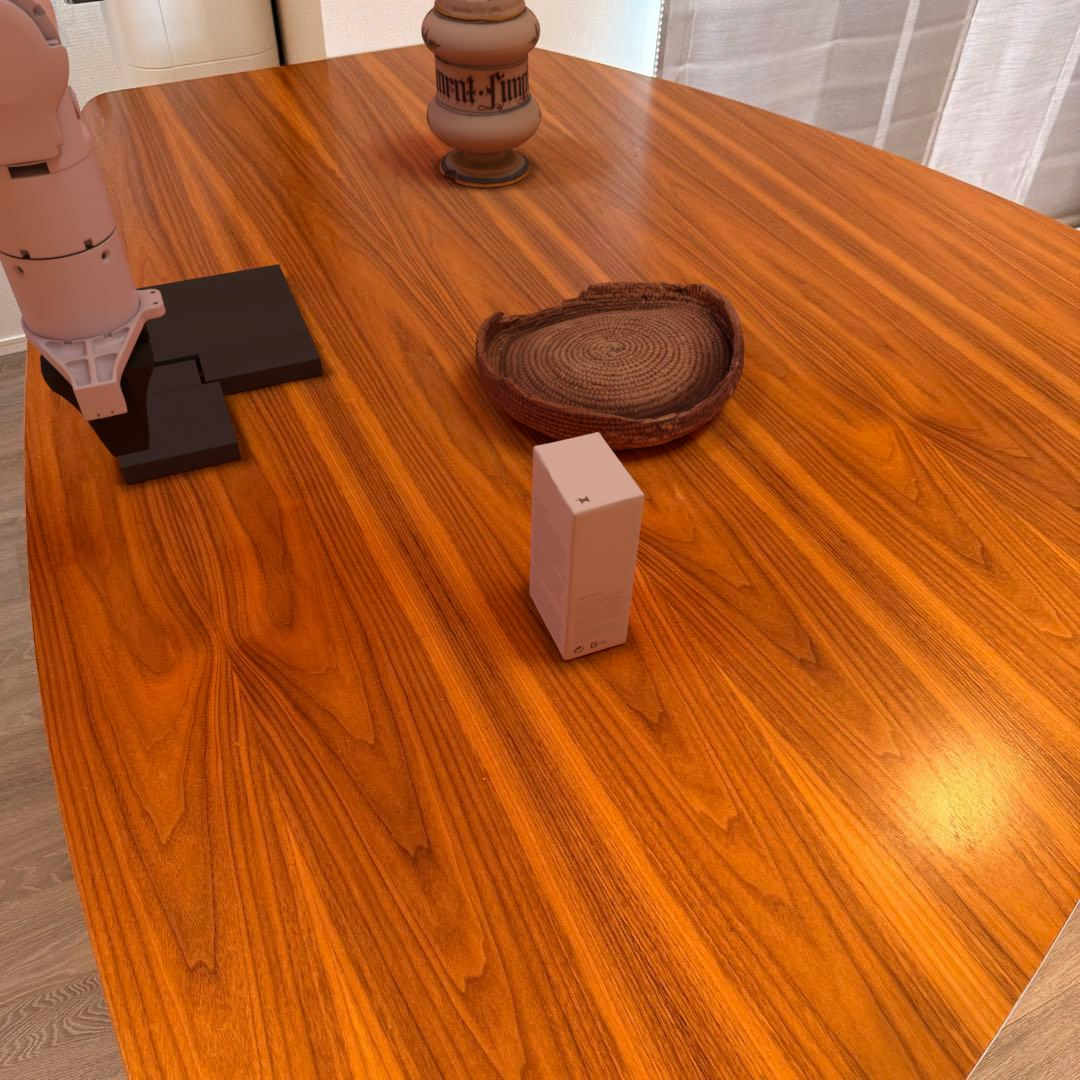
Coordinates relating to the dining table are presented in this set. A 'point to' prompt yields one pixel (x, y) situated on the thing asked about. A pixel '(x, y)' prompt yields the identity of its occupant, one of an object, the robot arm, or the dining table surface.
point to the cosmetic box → (583, 543)
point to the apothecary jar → (482, 88)
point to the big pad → (235, 329)
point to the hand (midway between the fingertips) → (130, 446)
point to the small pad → (182, 426)
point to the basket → (616, 362)
